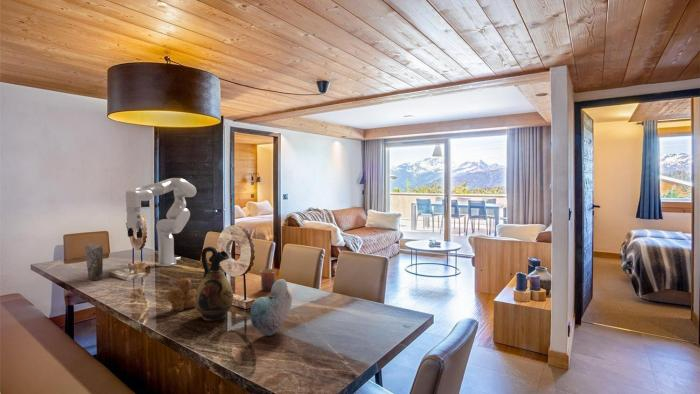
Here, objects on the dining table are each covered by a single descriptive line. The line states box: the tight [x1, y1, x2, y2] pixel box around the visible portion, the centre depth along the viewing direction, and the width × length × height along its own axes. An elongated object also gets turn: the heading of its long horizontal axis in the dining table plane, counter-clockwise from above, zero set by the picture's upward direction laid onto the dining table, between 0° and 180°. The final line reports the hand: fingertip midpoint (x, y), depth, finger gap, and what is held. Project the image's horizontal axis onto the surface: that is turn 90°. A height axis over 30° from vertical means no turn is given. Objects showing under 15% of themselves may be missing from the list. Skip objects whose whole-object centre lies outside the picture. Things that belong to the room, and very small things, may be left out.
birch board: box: [108, 267, 147, 281], centre depth 221 cm, size 11×22×2 cm, turn 57°
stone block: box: [85, 243, 104, 282], centre depth 214 cm, size 13×7×20 cm, turn 54°
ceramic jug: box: [194, 245, 234, 322], centre depth 154 cm, size 17×15×30 cm
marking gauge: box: [127, 261, 146, 274], centre depth 219 cm, size 9×4×6 cm, turn 147°
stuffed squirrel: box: [165, 277, 197, 312], centre depth 164 cm, size 10×14×13 cm
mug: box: [259, 268, 277, 292], centre depth 194 cm, size 12×9×10 cm
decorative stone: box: [250, 278, 293, 337], centre depth 136 cm, size 21×9×20 cm, turn 151°
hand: (135, 237), depth 226 cm, fingers open, 9 cm apart
